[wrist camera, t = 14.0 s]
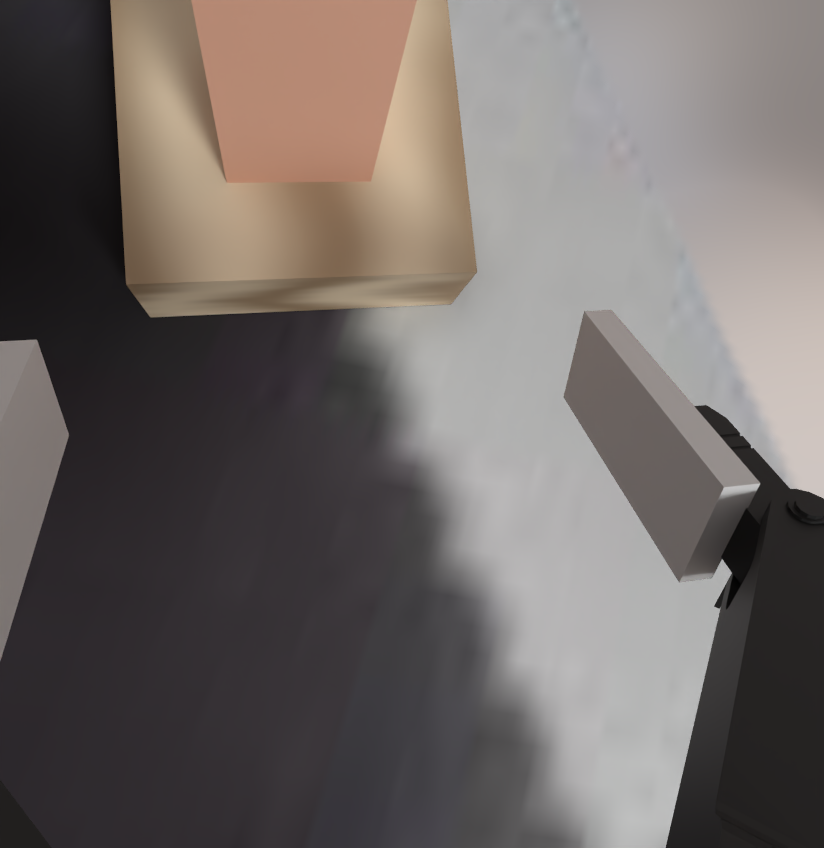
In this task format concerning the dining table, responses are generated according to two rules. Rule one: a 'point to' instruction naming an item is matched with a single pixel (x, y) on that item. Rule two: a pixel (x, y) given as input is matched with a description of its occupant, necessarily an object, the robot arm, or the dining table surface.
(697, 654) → the dining table surface
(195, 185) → the plinth
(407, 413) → the dining table surface
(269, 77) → the block
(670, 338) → the dining table surface
